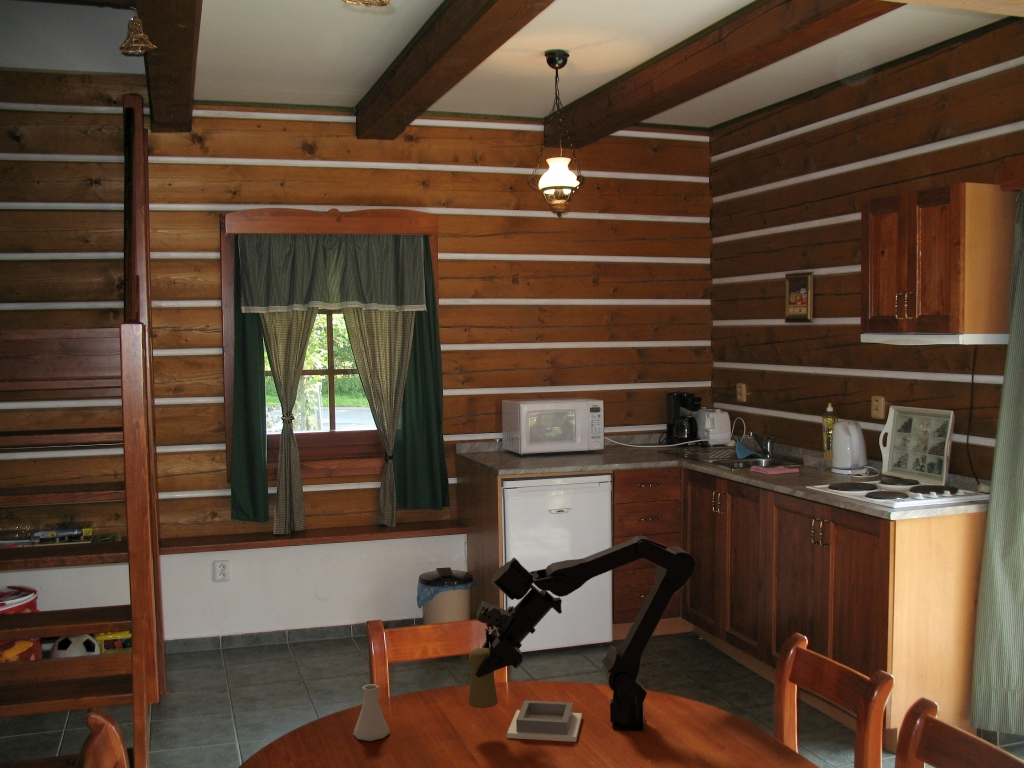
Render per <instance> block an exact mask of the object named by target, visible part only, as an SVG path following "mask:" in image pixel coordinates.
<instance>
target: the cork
mask: <svg viewBox="0 0 1024 768" xmlns="http://www.w3.org/2000/svg"><path fill="white" fill-rule="evenodd" d="M488 653H489V649H488V648H482V647H478V648H474V649H472V650H471V651H470V653H469V656H468V661H469V664H470V665H471V672H470V673H471V674H470V685H469V693H468V694H469V695H468V705H469V707H472V708H474V709H475V708H477V709H488V708H492V707H495V706H497V704H498V703H499V700H498V696H497V689H496V682H495V676H494V671H493V672H491V673H489V674H486V675H484V676H482V677H477V676H476V675H475V673H476V671H477V669H478V668H479V666H480V665H481V663H482V662H483V660H484V659H485V658H486V656H487V655H488Z"/></svg>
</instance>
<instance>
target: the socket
mask: <svg viewBox="0 0 1024 768" xmlns="http://www.w3.org/2000/svg"><path fill="white" fill-rule="evenodd" d="M582 715H583V713H582V712H574V703H573V702H568V701H567V702H565V701H545V700H527V699H526V700H524V701H523V702H522V706H521V708H520V709H516V712H515V714H514V716H513V718H512V721H511V723H510V725H509V728H508V729H507V730H508V731H507V733H506V738H507V739H519V740H520V739H521V740H523V739H524V740H537V741H538V740H539V741H552V742H553V741H554V742H555V741H558V742H569V743H570V742H575V743H576V742H577V738H578V735H579V731H580V728H581V723H582V720H583V719H582V718H583V717H582Z"/></svg>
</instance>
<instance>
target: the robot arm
mask: <svg viewBox="0 0 1024 768" xmlns="http://www.w3.org/2000/svg"><path fill="white" fill-rule="evenodd" d="M641 559H645V560H647V561H649V562H651V563H653V564H655V565H656V566H657V567H656V570H655V577H654V582H653V585H652V587H651V589H650V591H649V592H648V594H647V597H646V598H645V601H644V603H643V604H642V605H641V607H640V609H639V612H638V614H637V615H636V618H635V619H634V621H633V623H632V625H631V627H630V628H629V630H628V633H627V634H626V636H625V638H624V640H623V642H622V643H620V645H619V646H617V647H614V646H613V645H612V644H611V645H609V648H608V650H607V653H606V655H605V657H604V658H603V659H602V660H601V663H602V667H601V673H602V676H603V678H604V680H605V681H606V683H607V685H608V686H609V688H610V690H611V691H612V693H613V694H612V698H611V699H610V702H609V712H610V713H609V714H610V715H609V717H610V718H609V719H610V720H609V722H610V723H612V724H611V728H612V729H613V730H626V731H627V730H631V731H644V730H645V720H646V719H645V718H646V716H645V715H644V714H645V712H644V711H645V710H644V709H645V706H644V705H645V700H646V696H647V694H648V693H647V690H646V689H645V687H644V686H643V684H642V683H641V682H640V681H639V679H638V676H639V673H640V670H641V669H640V668H641V664H642V663H641V662H642V656H643V653H644V652H645V650H646V647H647V646H648V644H649V642H650V640H651V638H652V637H653V634H654V633H655V631H656V629H657V627H658V624H659V623H660V621H661V620H662V617H663V616H664V613H665V611H666V609H667V608H668V606H669V604H670V602H671V600H672V598H673V596H674V595H675V594H677V592H678V591H680V590H681V589H682V588H684V586H685V585H686V584H687V583H688V581H689V580H690V578H691V577H693V575H694V573H695V570H696V567H697V565H696V561H695V559H694V558H693V556H692V555H690V554H689V552H687V551H685V550H684V549H683V548H682V547H679V546H676V545H674V546H673V545H672V546H669V547H668V546H666V545H664V544H661V543H659V542H656V541H653V540H651V539H649V538H647V537H646V536H644V535H640V534H639V535H636V536H634V537H632V538H631V539H628V540H626V541H624V542H621V543H618V544H615V545H613V546H611V547H608V548H606V549H603V550H601V551H598V552H595V553H592V554H590V555H588V556H586V557H582V558H578V559H566V560H560V561H556V562H552V563H550V564H549V565H547V567H545V568H543V569H537V570H532V571H529V570H528V569H527V568H525V567H524V566H523V565H522V564H521V563H520V561H519V559H517V558H515V557H512V559H510V560H509V561H507V562H506V563H504V564H503V566H502V565H501V566H500V567H499V568H498V569H497V570H496V572H495V573H494V574H493V575H492V578H491V581H490V582H491V583H492V584H493V585H494V586H495V587H496V588H497V589H499V591H500V592H502V593H503V595H505V596H506V597H507V598H509V599H510V600H511V601H514V600H516V601H518V600H520V601H518V603H517V604H516V605H515V606H514V605H511V606H508V608H507V609H504V608H501V607H499V606H497V605H494V604H492V603H489V602H488V601H483V600H481V602H480V604H479V607H478V609H477V611H476V614H475V616H476V620H477V621H478V622H480V623H483V624H485V626H486V627H487V628H486V627H485V629H484V633H485V634H484V635H485V641H484V643H483V645H482V646H481V648H488V649H489V653H488V655H487V656H486V658H485V659H484V660H483V662H482V663H481V665H480V666H479V668H478V669H477V671H476V673H475V675H476V676H477V677H482V676H484V675H486V674H489V673H491V672H493V673H494V672H495V671H496V672H497V671H498V670H500V669H503V668H506V667H509V666H510V667H511V666H512V667H513V668H514V669H518V668H519V666H520V665H522V663H523V661H524V660H523V653H522V652H521V647H522V646H523V644H522V642H523V641H524V640H525V638H526V637H527V636H528V635H529V634H531V635H533V634H534V633H535V632H536V629H535V627H536V626H538V624H539V623H541V621H542V619H543V618H545V616H547V614H548V613H549V612H550V611H551V610H552V609H553V610H554V611H555V612H557V613H558V614H559V615H561V614H562V611H563V610H562V603H563V600H562V599H561V598H562V597H566V596H568V595H569V596H570V594H572V593H574V592H575V591H576V590H578V589H580V588H581V587H582V586H584V585H585V584H586V583H587V582H588V581H590V580H591V579H594V578H596V577H599V576H602V575H603V574H606V573H607V572H610V571H612V570H615V569H619V568H621V567H623V566H625V565H628V564H630V563H633V562H635V561H638V560H641ZM549 592H550V593H549ZM553 595H555V596H557V597H554V596H553ZM488 628H489V629H488Z"/></svg>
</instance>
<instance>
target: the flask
mask: <svg viewBox="0 0 1024 768" xmlns="http://www.w3.org/2000/svg"><path fill="white" fill-rule="evenodd" d="M361 688H362V691H363V702H362V706H361V710H360V712H359V716H358V719H357V722H356V724H355V727H354V729H353V733H352V734H353V735H354V737H355V738H356V739H357V740H360V741H361V740H362V741H367V742H371V741H376V740H380V739H384V738H386V736H388V735H389V734H391V730H390V727H389V725H388V723H387V720H386V719H385V717H384V713H383V711H382V708H381V705H380V700H379V696H378V693H379V691H378V690H379V689H380V687H379V685H378V684H375V683H374V684H373V683H369V684H365V685H364V686H362V687H361Z"/></svg>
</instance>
